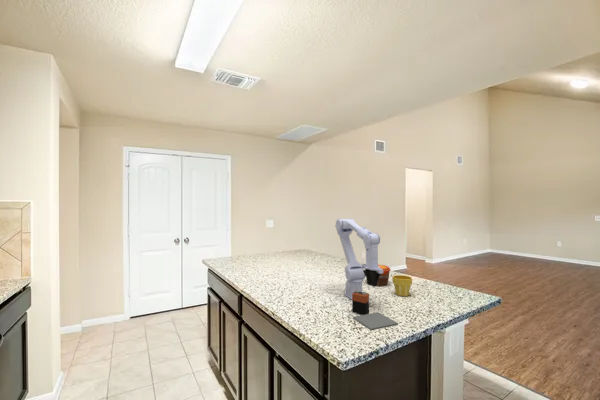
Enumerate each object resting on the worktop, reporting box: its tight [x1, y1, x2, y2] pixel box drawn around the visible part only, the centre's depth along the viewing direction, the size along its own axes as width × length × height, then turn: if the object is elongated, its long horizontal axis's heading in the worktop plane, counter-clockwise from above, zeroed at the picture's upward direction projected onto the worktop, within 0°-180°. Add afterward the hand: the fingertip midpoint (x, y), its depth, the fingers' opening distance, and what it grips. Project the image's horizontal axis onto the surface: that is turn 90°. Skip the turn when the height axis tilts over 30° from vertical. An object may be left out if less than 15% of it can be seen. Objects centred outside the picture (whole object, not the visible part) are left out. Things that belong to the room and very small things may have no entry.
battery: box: [351, 290, 370, 315], centre depth 133 cm, size 4×7×10 cm, turn 53°
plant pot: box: [392, 274, 413, 297], centre depth 160 cm, size 10×10×10 cm
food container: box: [363, 264, 392, 287], centre depth 181 cm, size 16×16×11 cm
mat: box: [352, 311, 399, 331], centre depth 124 cm, size 13×14×1 cm
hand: (372, 285), depth 141 cm, fingers open, 3 cm apart
